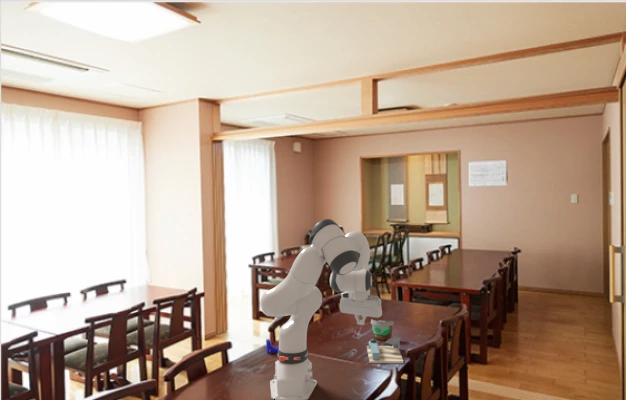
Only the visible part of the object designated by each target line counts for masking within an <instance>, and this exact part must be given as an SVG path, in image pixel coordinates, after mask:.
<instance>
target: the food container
mask: <svg viewBox="0 0 626 400" xmlns="http://www.w3.org/2000/svg"><path fill="white" fill-rule="evenodd" d="M370 324H371V327H372V333H373V338H374V339H376V341H378V342H386V341H387V340H389V339H390V338H392V337H393V336H392V334H393V326H394V325H395V323H394V321H393V320H390V321H386V320H383V319H382V320H381V319H373V318H371V320H370Z"/></svg>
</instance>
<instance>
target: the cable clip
mask: <svg viewBox="0 0 626 400" xmlns="http://www.w3.org/2000/svg"><path fill="white" fill-rule="evenodd" d="M265 344H266V345H265V349H266V353H267V354H272V353H274V354H275V353H278V349H279V345H278V346H273V344H271V339H270V338H267V339H265Z"/></svg>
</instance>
